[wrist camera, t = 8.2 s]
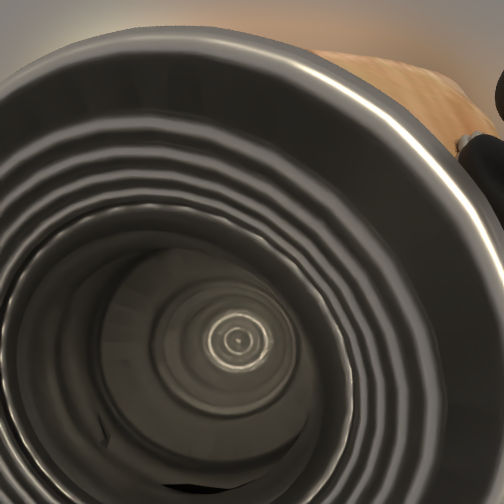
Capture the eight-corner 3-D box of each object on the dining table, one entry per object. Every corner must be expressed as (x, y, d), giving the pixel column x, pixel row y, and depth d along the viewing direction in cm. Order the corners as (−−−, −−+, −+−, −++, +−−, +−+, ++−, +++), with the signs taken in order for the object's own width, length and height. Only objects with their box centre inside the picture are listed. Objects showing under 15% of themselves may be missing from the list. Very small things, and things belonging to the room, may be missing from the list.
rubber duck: (449, 145, 41) (470, 121, 33) (463, 139, 41) (483, 117, 34) (465, 168, 39) (489, 146, 32) (479, 160, 40) (500, 140, 32)
